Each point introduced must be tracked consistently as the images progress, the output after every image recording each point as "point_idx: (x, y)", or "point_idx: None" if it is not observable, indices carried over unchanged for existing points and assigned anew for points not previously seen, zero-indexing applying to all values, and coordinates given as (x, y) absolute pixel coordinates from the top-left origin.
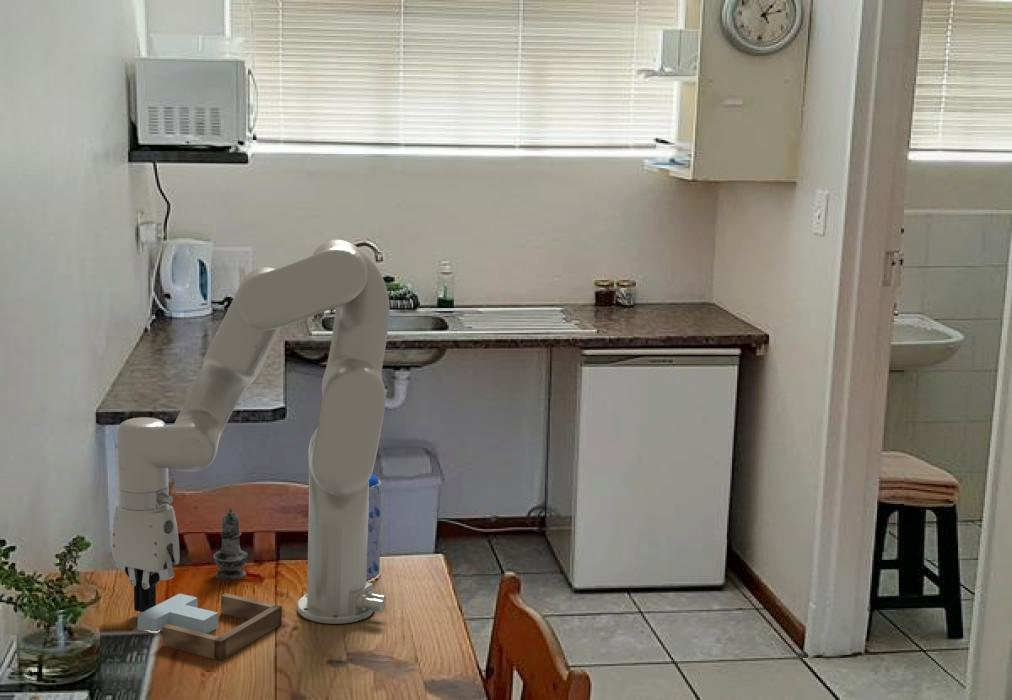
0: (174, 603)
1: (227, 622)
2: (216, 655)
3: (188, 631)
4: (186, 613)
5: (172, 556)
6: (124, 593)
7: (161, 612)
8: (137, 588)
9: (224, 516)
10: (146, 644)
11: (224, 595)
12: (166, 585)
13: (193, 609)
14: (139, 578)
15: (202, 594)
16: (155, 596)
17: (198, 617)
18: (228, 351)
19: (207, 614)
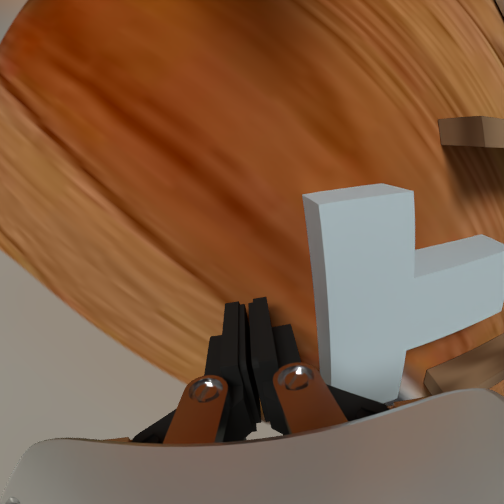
0: (378, 298)
1: (483, 190)
2: None
3: (496, 380)
4: (453, 318)
5: (458, 438)
6: (48, 242)
7: (386, 369)
8: (254, 423)
9: None
10: (391, 401)
11: (491, 141)
12: (81, 88)
13: (458, 284)
14: (233, 435)
15: (260, 42)
16: (293, 339)
17: (487, 309)
18: None
19: (497, 278)
